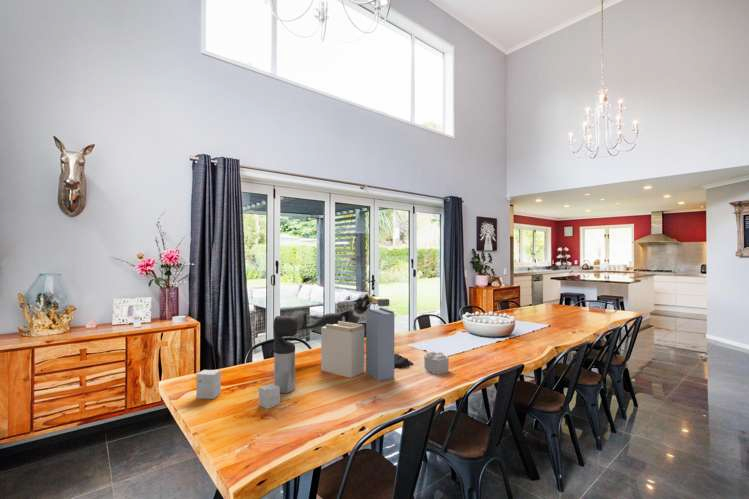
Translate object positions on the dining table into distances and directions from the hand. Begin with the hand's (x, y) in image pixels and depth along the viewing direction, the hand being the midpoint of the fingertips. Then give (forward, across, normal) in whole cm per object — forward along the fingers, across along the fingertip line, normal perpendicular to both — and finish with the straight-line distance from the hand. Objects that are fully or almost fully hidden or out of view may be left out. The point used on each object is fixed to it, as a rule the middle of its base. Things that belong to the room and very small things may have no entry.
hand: (371, 296), depth 188 cm
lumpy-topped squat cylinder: (-6, +31, +42) cm, 52 cm away
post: (-10, 0, +39) cm, 40 cm away
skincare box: (0, -56, +45) cm, 72 cm away
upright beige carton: (-22, -15, +32) cm, 42 cm away
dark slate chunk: (-24, +16, +32) cm, 43 cm away
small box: (-17, -78, +35) cm, 88 cm away
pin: (+2, 0, +5) cm, 5 cm away
